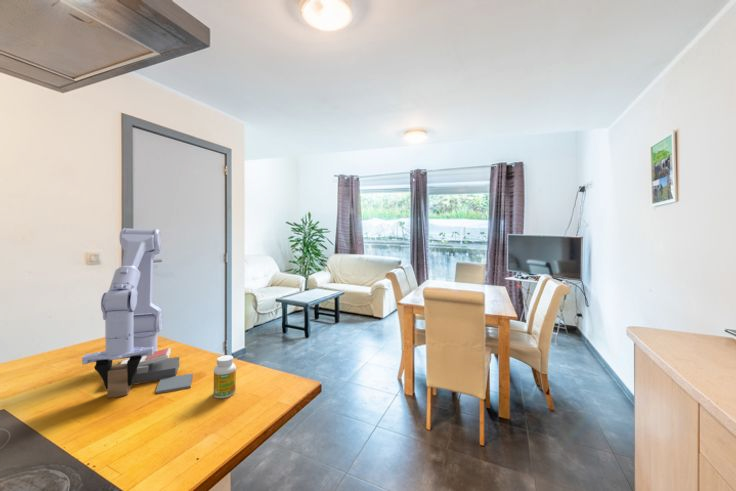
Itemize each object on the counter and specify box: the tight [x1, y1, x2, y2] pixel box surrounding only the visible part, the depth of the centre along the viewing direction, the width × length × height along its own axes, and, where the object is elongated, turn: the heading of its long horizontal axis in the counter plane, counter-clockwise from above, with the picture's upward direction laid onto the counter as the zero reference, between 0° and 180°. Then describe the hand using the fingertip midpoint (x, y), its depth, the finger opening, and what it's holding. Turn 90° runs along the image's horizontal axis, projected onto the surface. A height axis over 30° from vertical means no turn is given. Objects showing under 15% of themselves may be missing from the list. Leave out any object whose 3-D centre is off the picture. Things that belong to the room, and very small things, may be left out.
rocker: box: [120, 347, 172, 367], centre depth 89 cm, size 6×12×1 cm, turn 116°
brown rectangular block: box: [107, 363, 132, 399], centre depth 79 cm, size 4×4×7 cm
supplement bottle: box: [213, 354, 237, 399], centre depth 80 cm, size 5×5×10 cm
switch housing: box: [132, 356, 180, 385], centre depth 89 cm, size 9×16×4 cm, turn 116°
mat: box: [155, 373, 194, 394], centre depth 85 cm, size 8×8×1 cm
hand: (119, 385), depth 79 cm, fingers closed on brown rectangular block, 4 cm apart
